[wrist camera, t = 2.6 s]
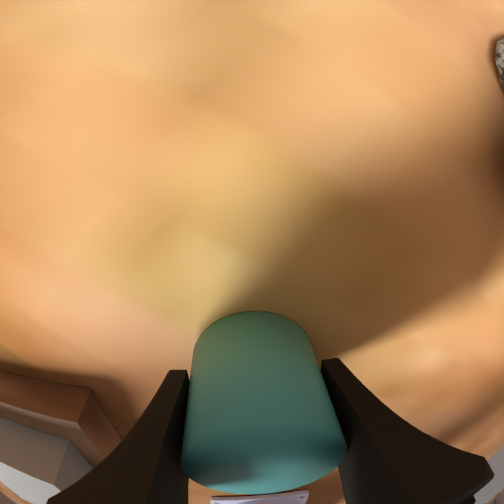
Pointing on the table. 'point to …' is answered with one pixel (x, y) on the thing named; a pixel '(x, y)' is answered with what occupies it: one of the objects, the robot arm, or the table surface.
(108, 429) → the walnut base slab
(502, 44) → the rock sample
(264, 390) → the teal cylinder
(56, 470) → the gray top slab
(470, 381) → the table surface
